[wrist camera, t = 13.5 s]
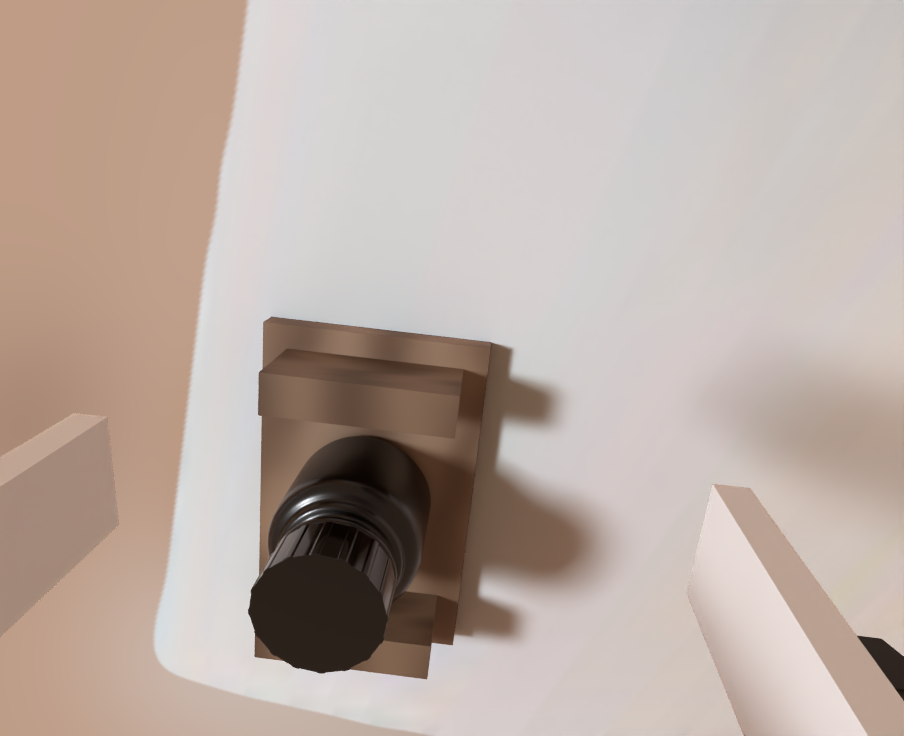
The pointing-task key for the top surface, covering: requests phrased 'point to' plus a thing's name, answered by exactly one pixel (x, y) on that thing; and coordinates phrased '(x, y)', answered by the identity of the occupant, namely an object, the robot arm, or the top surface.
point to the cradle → (389, 419)
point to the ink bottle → (340, 554)
